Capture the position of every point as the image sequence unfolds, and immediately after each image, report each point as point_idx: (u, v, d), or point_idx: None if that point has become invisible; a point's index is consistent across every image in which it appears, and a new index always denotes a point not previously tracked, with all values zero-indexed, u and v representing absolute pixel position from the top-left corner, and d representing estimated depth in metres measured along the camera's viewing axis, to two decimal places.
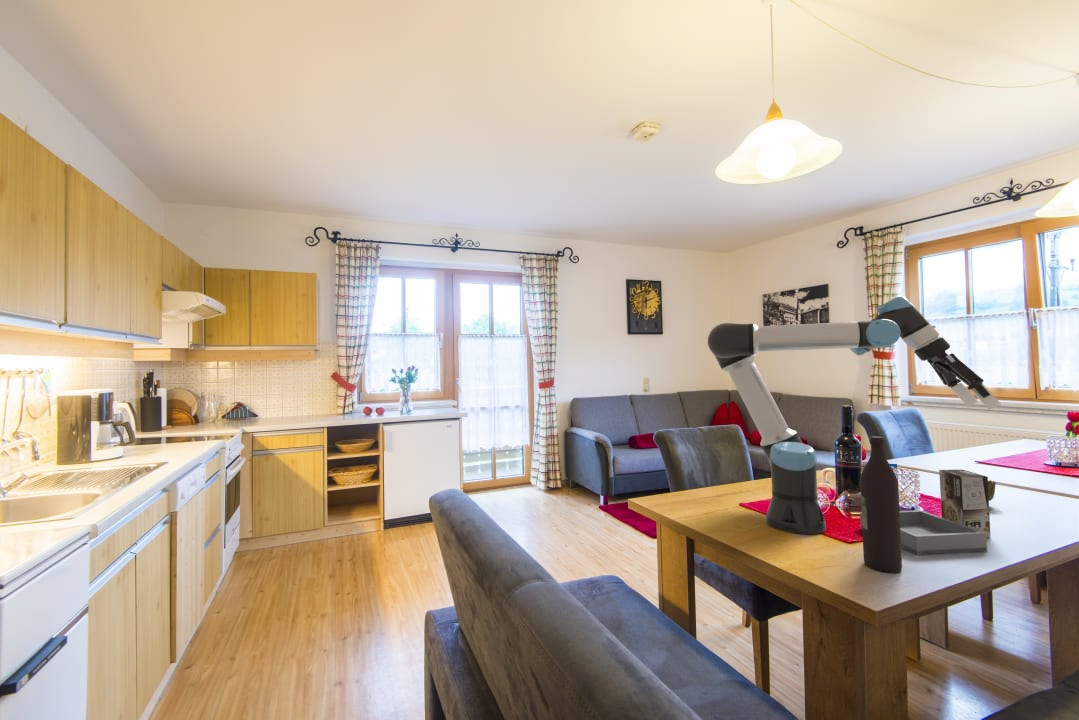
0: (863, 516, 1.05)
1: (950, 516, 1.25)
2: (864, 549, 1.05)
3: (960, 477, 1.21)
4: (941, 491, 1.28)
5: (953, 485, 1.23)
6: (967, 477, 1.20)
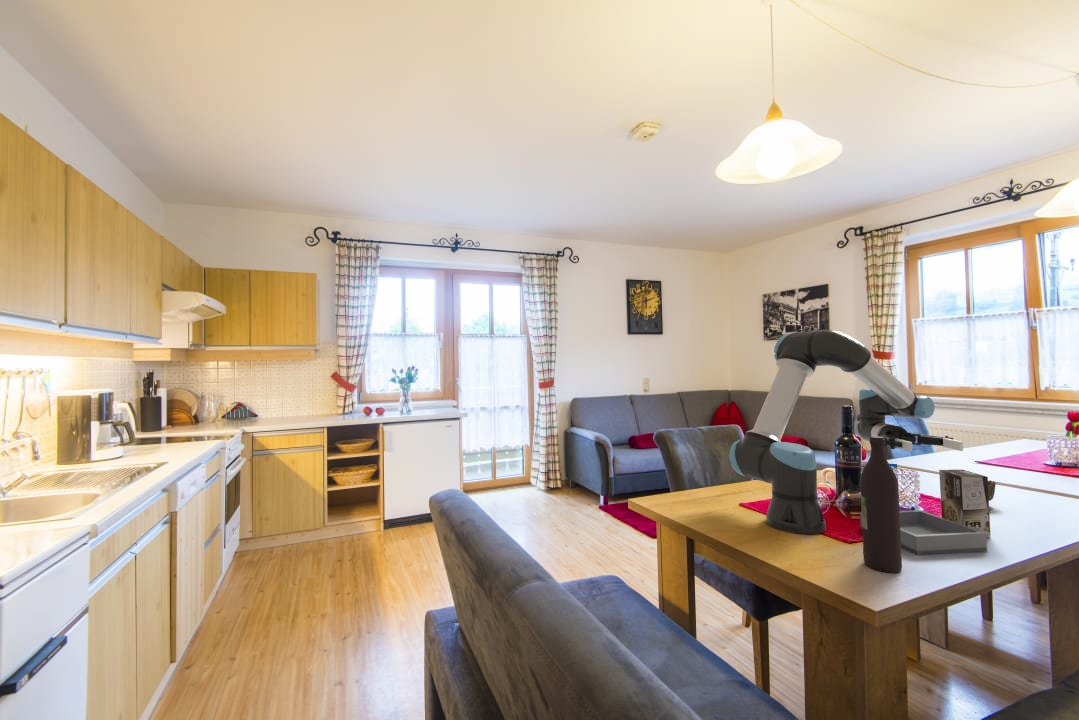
0: (863, 516, 1.05)
1: (950, 516, 1.25)
2: (864, 549, 1.05)
3: (960, 477, 1.21)
4: (941, 491, 1.28)
5: (953, 485, 1.23)
6: (967, 477, 1.20)
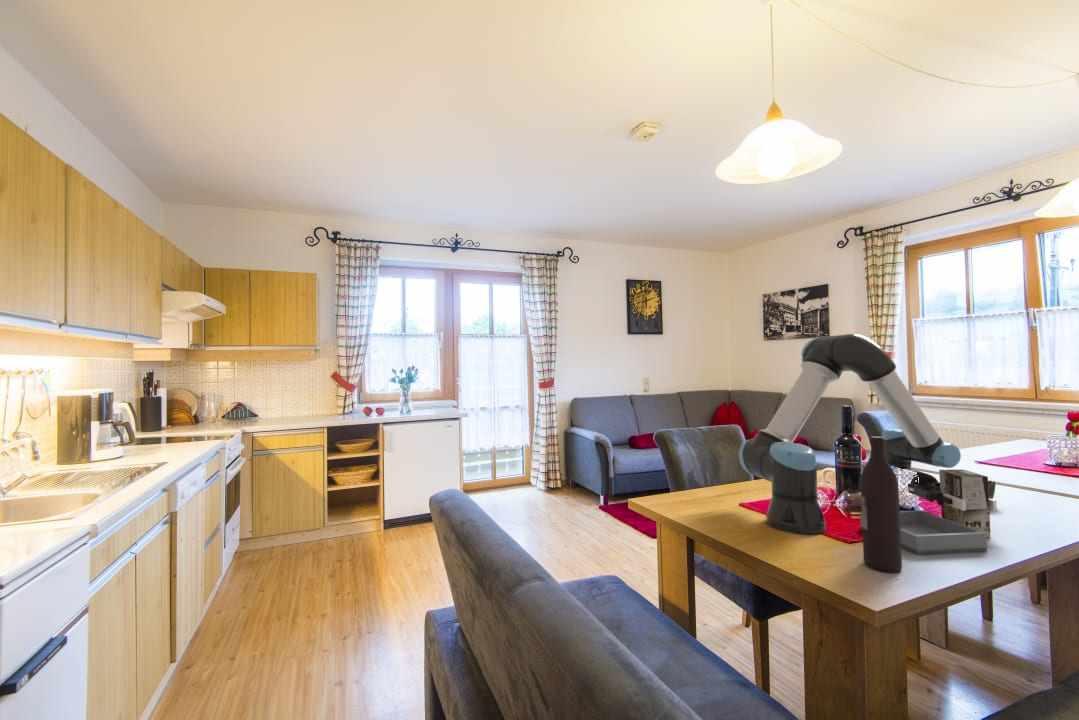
0: (863, 516, 1.05)
1: (950, 516, 1.25)
2: (864, 549, 1.05)
3: (960, 477, 1.21)
4: (941, 491, 1.28)
5: (953, 485, 1.23)
6: (967, 477, 1.20)
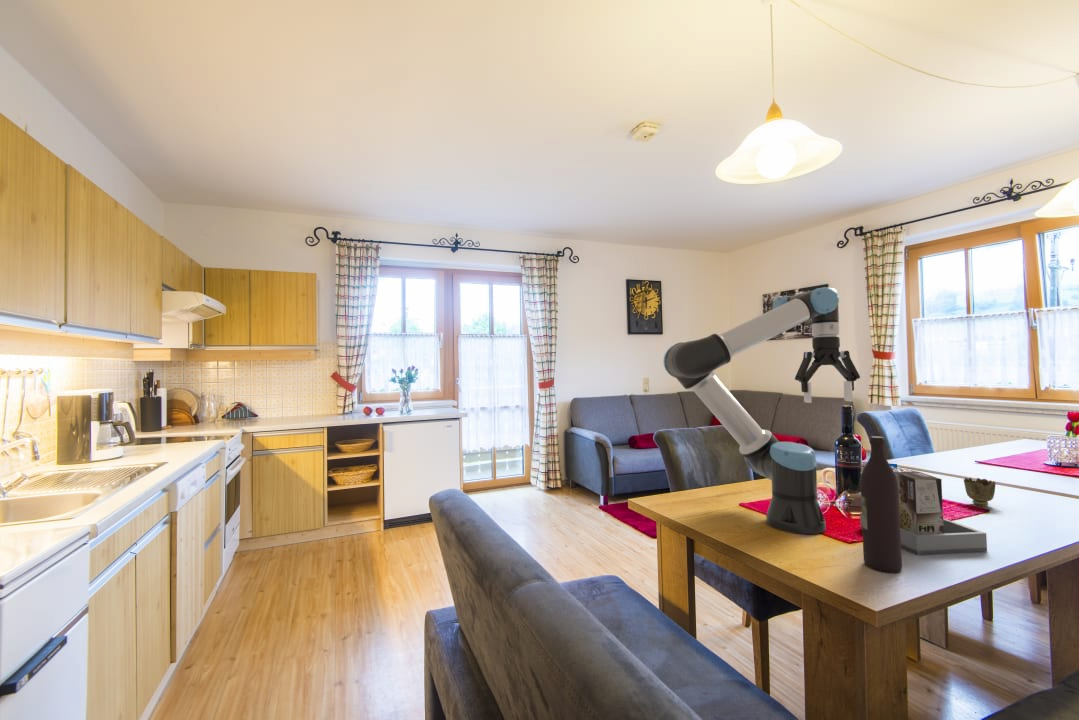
0: (863, 516, 1.05)
1: (904, 520, 1.20)
2: (864, 549, 1.05)
3: (914, 479, 1.16)
4: None
5: (907, 488, 1.18)
6: (921, 479, 1.15)
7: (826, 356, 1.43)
